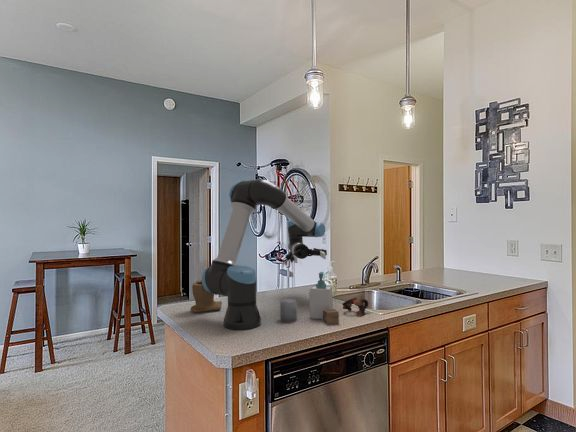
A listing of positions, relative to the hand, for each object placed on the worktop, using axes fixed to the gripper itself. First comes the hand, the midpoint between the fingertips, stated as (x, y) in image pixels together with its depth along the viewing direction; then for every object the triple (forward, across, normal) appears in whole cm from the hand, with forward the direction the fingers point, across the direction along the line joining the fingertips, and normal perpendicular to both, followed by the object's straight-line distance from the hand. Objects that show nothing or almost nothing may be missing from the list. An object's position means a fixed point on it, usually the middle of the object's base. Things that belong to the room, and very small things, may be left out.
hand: (310, 258), depth 166 cm
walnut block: (+21, -1, -23) cm, 31 cm away
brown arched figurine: (+10, -16, -26) cm, 32 cm away
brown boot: (-11, +50, -21) cm, 55 cm away
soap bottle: (+11, 0, -24) cm, 26 cm away
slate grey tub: (+13, +15, -22) cm, 30 cm away
